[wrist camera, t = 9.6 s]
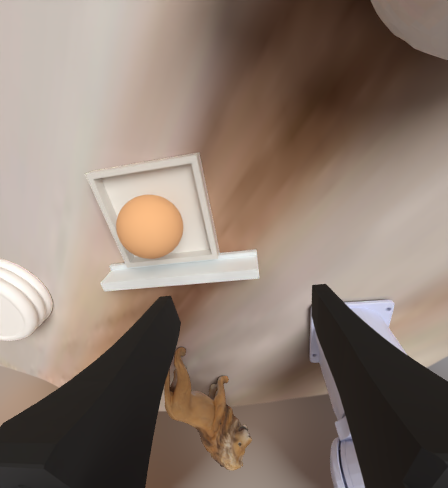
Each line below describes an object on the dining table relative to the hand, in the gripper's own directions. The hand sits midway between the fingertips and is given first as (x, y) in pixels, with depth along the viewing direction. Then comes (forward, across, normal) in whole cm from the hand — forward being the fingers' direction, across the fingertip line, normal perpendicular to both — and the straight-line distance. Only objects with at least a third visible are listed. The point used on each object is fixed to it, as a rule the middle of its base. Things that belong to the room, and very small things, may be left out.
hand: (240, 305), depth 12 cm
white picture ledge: (+10, +6, +4) cm, 12 cm away
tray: (+10, +7, -2) cm, 12 cm away
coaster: (+10, +28, +5) cm, 30 cm away
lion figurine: (+10, +8, +22) cm, 25 cm away
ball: (+10, +7, -2) cm, 12 cm away
